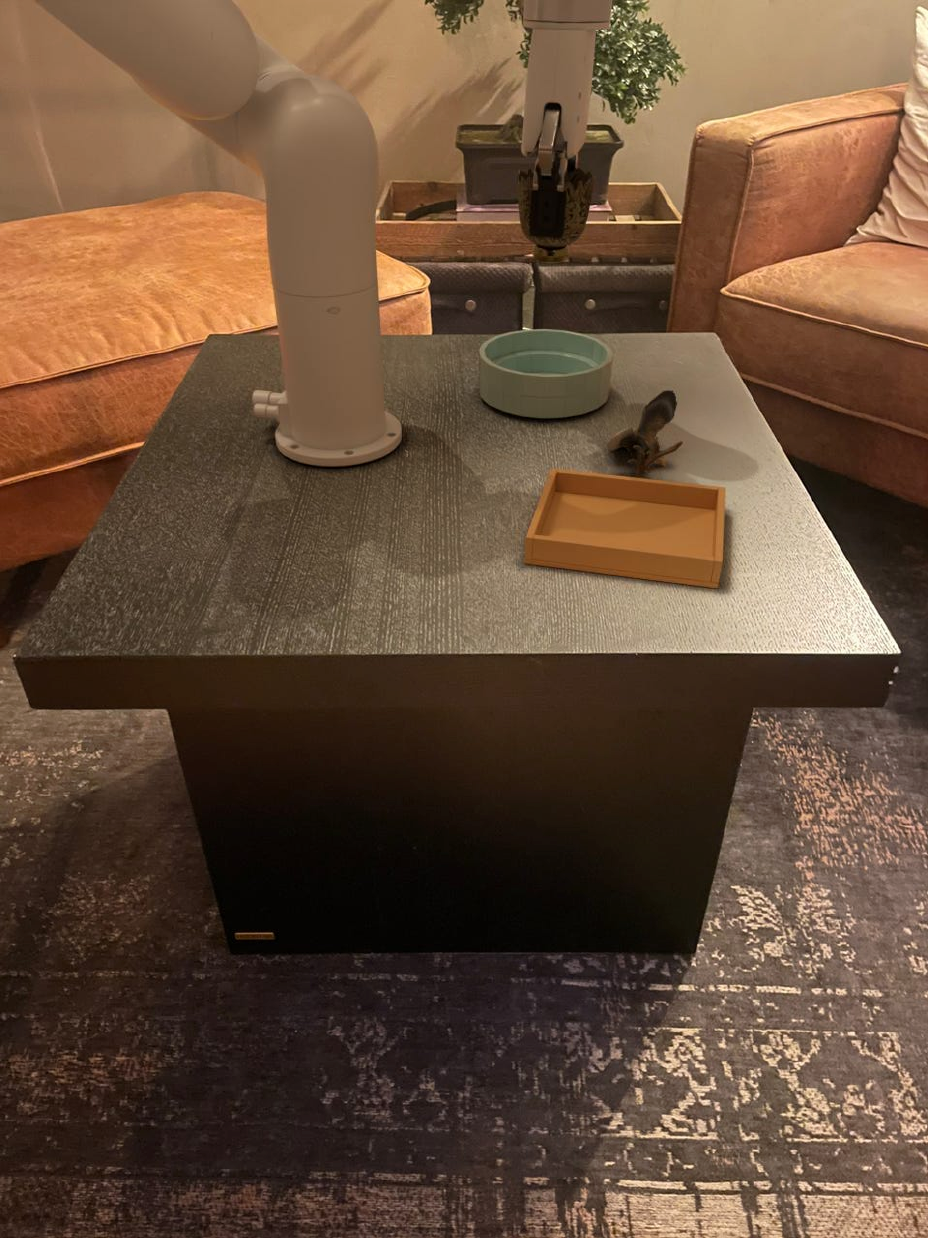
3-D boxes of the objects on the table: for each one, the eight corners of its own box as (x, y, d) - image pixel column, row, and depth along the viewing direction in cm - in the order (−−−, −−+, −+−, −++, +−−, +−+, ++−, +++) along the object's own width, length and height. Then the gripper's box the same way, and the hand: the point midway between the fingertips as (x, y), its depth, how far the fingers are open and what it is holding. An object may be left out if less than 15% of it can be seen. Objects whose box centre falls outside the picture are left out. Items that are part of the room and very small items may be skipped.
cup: (507, 251, 94) (511, 164, 89) (577, 250, 94) (585, 164, 90) (519, 271, 88) (525, 179, 83) (595, 270, 88) (604, 179, 84)
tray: (524, 563, 74) (525, 536, 72) (549, 492, 83) (551, 467, 82) (717, 588, 71) (723, 561, 69) (720, 512, 80) (725, 487, 79)
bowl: (465, 415, 97) (465, 369, 94) (494, 366, 108) (495, 324, 105) (599, 428, 94) (603, 381, 92) (615, 377, 106) (619, 334, 103)
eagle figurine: (701, 474, 84) (692, 417, 90) (667, 417, 80) (660, 361, 86) (625, 507, 87) (622, 449, 93) (589, 454, 83) (588, 398, 89)
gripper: (540, 2, 86) (529, 204, 97) (505, 10, 73) (497, 245, 83) (620, 4, 85) (600, 209, 95) (600, 13, 71) (580, 251, 82)
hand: (552, 224), depth 89 cm, fingers closed on cup, 7 cm apart
